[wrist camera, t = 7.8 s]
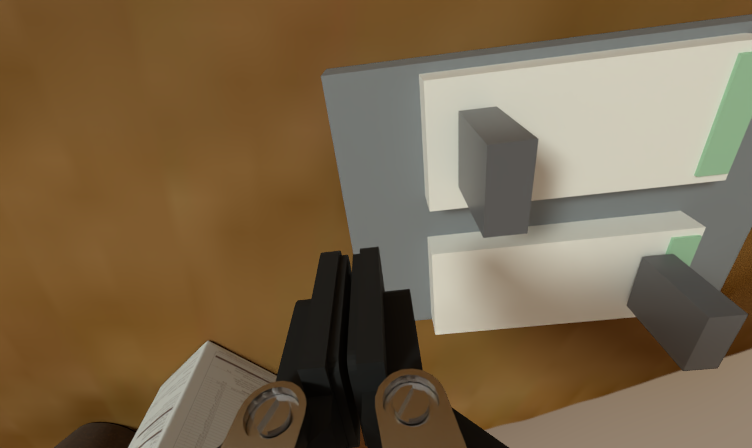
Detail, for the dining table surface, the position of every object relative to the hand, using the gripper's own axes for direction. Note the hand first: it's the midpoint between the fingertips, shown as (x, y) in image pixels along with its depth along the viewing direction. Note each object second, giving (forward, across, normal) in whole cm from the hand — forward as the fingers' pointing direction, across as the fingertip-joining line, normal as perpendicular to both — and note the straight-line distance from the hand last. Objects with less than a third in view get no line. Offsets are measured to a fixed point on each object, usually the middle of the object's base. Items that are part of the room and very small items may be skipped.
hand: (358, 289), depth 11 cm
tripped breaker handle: (+9, -6, -1) cm, 11 cm away
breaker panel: (+14, -12, +4) cm, 19 cm away
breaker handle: (+9, -17, +9) cm, 21 cm away
